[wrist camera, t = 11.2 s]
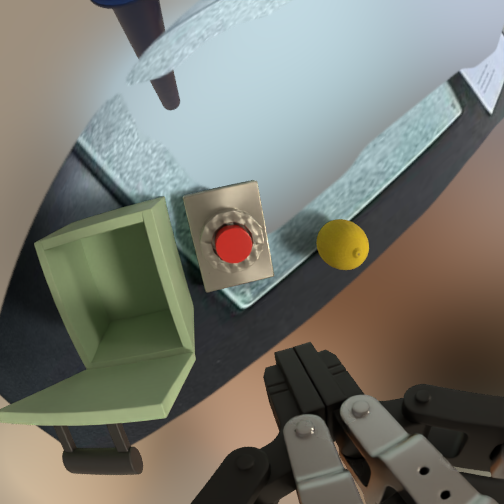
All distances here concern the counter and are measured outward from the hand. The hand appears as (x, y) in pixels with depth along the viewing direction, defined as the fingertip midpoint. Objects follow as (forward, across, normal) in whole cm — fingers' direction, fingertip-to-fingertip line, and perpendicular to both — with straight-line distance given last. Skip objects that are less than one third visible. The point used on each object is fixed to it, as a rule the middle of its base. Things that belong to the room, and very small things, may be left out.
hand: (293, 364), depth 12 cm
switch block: (+24, 0, 0) cm, 24 cm away
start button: (+21, 0, 0) cm, 21 cm away
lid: (+7, +12, +4) cm, 15 cm away
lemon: (+24, -12, +3) cm, 27 cm away
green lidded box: (+24, +12, +1) cm, 27 cm away
